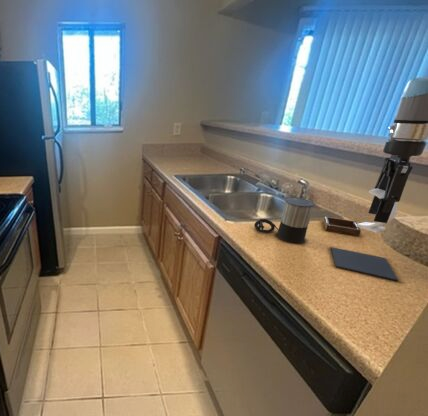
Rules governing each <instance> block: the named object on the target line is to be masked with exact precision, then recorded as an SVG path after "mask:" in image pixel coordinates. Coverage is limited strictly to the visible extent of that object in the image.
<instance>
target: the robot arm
mask: <svg viewBox="0 0 428 416" xmlns="http://www.w3.org/2000/svg"><path fill="white" fill-rule="evenodd" d="M387 130H388V131H389V133H388V138H389V139H387V140H386V141H385V143H384V147H383V150H382V152H383V153H384V154H386V155H390V156H389V157H385V159H384V161H383V162H384V163H383V164H382V165H383V166H382V168H381V170H380V173H379V176H378V178H377V181H376V184H375V186H374V189H377V188H378V189H382V190H385V194H384V198H380V199H379V198H378V197H377V196H375V195H373V198H372V201H371V204H370V207H369V209H368V212H367V213H368V214H369V215H370V214H371V215H374V218H373V221H374V223H377V222H382V223H385V224H388V223H389V222H388V219H389V216H390V214H391V211H392V209H393V206H394V204H395V202H396V203H399V202H400V201H401V197H402V196H403V192H404V190H405V187H406V183H407V181H408V177H409V176H410V174H411V172H412V170H413V166H412V165H411V162H410V160H411V157H419V156H421V155H423V152H424V151H425V148H426V145H427V142H426V140H428V76H420V77H414V78H411V79H410V80H409V81H408V83H407V84H406V86H405V88H404V90H403V93H402V95H401V98H400V101H399V105H398V108H397V111H396V113H395V117H394V120H393V123H392V126H388V129H387ZM387 222H388V223H387Z"/></svg>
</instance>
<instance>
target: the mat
mask: <svg viewBox="0 0 428 416" xmlns="http://www.w3.org/2000/svg"><path fill="white" fill-rule="evenodd" d="M330 251H331V254H332V258H333V263H334V267H335V268H337V269H338V268H339V269H342V270H347V271H351V272H356V273H360V274H365V275H368V276H373V277H378V278H381V279H385V280H389V281H395V282H398V281H399V279H398V277H397V276H396V274H395V272H394V271H393V268H391V265H390V264H389V262H388V260H387V259H386V257H381V256H377V255H372V254H367V253H362V252H357V251H353V250H348V249H342V248H338V247H334V246H333V247H332V246H331V247H330Z"/></svg>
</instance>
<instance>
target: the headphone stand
mask: <svg viewBox="0 0 428 416" xmlns="http://www.w3.org/2000/svg"><path fill="white" fill-rule="evenodd" d="M367 193H368V194H371V195H373V196H377V197H378V198H379V199H380V198H384V194H385V190H382V189H378V188H377V189H375V188H373V189H369V190H368V192H367ZM397 212H398V202H395V204H394V206H393V209H392V211H391V214H390V216H389V219H388V222H387V223H382V222H368V221H364V222H363V221H362V222H360V223H357V226H356V227H359V228H360V229H363V230H365V231H368V232H372V233H375V234H377V233H380V232H385V230H386V227H384V226H383V225H385V224H388V223H389V222H391V221H392V220H393V219H394V218H395V217H396V215H397Z"/></svg>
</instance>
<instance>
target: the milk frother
mask: <svg viewBox="0 0 428 416" xmlns="http://www.w3.org/2000/svg"><path fill="white" fill-rule="evenodd" d="M284 201H285V202H284V206H283V209H282V213H281V214H282V215H281V218H280V224H279V226H276V224H275V223H273V221H271V220H269V219H267V218H260V219H258V220H257V221H255V222H254V229H255V230H256V231H258V232H260V233H264V234H271V233H272V232H273V231H274V230H275V229H276V230H277V232H276V237H277V238H278V239H280V240H282V241H285V242H288V243H293V244H301V243H304V242H305V241H306V236H307V231H308V227H309V225H310V220H311V217H312V213H313V211H314V207H315V206H316V203H315V202H313V201H312V200H309V199H306V198H301V197H287V198H285V199H284ZM265 223H266V224H267V225H269V226H270V228H268V229H265V225H264V224H265Z"/></svg>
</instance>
